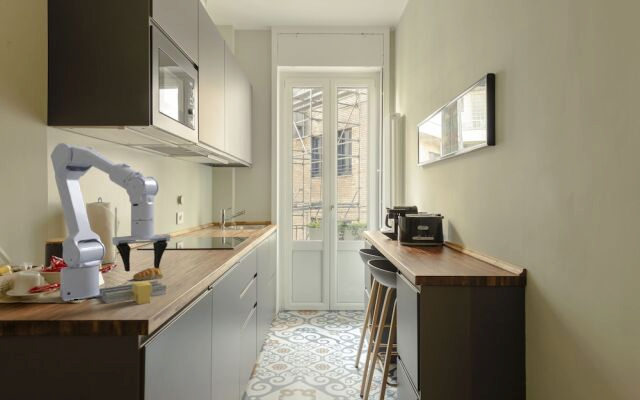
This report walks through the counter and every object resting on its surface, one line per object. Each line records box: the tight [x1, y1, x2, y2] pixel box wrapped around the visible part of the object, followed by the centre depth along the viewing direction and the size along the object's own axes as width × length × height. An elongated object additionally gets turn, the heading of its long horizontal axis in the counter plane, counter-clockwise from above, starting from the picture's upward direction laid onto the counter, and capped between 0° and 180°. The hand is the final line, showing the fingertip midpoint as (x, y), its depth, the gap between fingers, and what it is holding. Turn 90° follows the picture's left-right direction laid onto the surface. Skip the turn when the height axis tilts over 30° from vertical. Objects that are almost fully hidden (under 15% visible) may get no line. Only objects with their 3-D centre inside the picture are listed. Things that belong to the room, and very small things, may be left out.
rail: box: [99, 280, 167, 304], centre depth 111 cm, size 16×8×2 cm, turn 131°
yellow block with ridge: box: [131, 280, 152, 305], centre depth 105 cm, size 4×5×5 cm
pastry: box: [132, 266, 164, 282], centre depth 134 cm, size 9×7×4 cm
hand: (142, 269), depth 105 cm, fingers open, 7 cm apart
